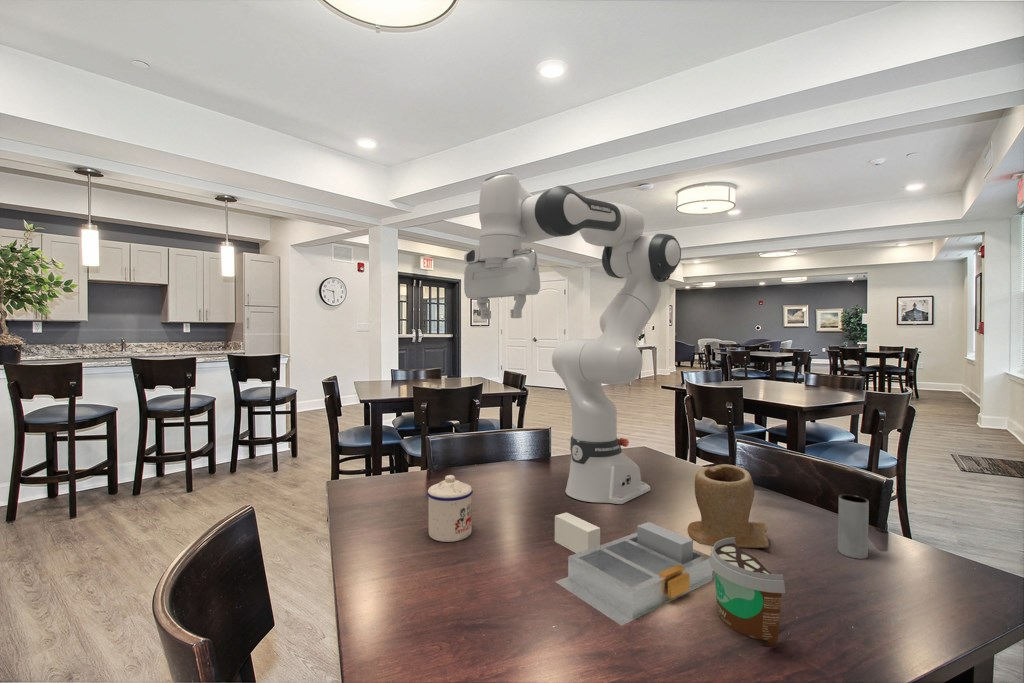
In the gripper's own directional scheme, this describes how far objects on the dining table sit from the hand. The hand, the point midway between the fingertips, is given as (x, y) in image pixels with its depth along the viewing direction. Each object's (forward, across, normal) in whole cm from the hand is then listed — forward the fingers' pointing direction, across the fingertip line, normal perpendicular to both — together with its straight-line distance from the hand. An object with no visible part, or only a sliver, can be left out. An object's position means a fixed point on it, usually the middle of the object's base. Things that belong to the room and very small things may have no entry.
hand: (500, 318), depth 102 cm
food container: (+44, -49, 0) cm, 66 cm away
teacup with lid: (+44, +4, +10) cm, 45 cm away
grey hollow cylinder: (+44, -55, -38) cm, 80 cm away
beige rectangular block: (+44, -20, -1) cm, 48 cm away
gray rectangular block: (+43, -35, -6) cm, 55 cm away
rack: (+44, -34, 0) cm, 55 cm away
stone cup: (+44, -38, -26) cm, 63 cm away
